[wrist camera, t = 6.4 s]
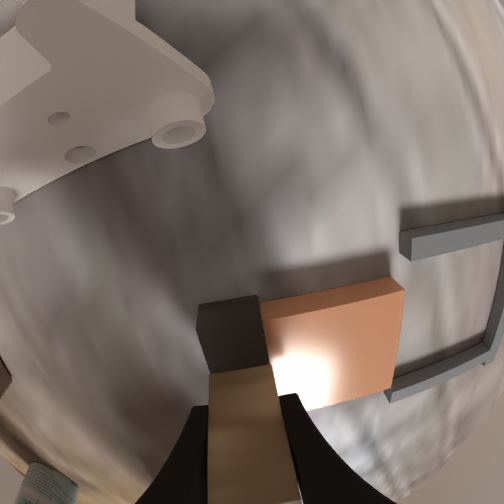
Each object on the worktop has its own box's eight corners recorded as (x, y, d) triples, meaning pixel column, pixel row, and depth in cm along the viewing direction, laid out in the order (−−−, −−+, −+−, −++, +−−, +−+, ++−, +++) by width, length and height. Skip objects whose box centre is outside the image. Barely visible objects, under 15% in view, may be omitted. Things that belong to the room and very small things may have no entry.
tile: (275, 394, 15) (279, 416, 13) (258, 300, 12) (261, 321, 11) (379, 369, 15) (390, 387, 13) (388, 274, 12) (405, 289, 11)
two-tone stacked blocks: (232, 411, 14) (241, 541, 7) (198, 305, 12) (179, 480, 5) (277, 403, 14) (305, 532, 7) (257, 294, 12) (297, 467, 5)
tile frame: (382, 397, 15) (388, 408, 14) (399, 220, 11) (412, 226, 10) (485, 353, 15) (492, 361, 14) (516, 202, 11) (528, 206, 10)
